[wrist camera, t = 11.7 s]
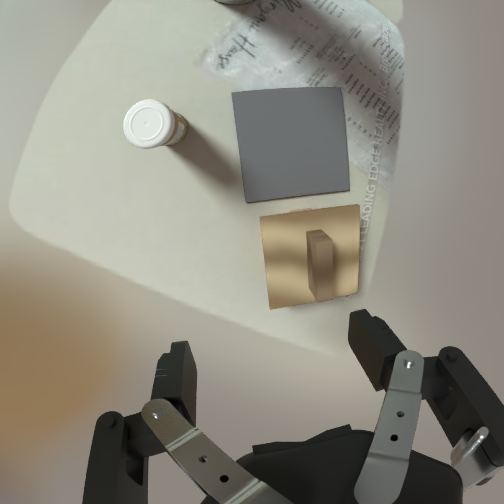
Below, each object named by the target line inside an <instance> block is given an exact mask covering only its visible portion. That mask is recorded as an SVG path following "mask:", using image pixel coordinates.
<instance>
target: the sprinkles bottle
mask: <svg viewBox="0 0 504 504" xmlns="http://www.w3.org/2000/svg"><path fill="white" fill-rule="evenodd" d="M123 128H124V134H125V136H126V138H127V139H128V141H129V142H130V143H131V144H133V145H134V146H136V147H139V148H144V149H148V148H155V147H158V146H164V145H173V144H176V143H178V142H180V141H181V140H182V139H183V138H184V136H185V134H186V131H187V123H186V120H185V119H184V117H183V116H182V115H180V114H179V113H176V112H175V111H173V110H171V109H170V108H169V107H168V106H167V105H165V104H164V103H162V102H160V101H157V100H153V99H147V100H143V101H140V102H138V103H136V104H135V105H133V106H132V107H131V108H130V109H129V111H128V112H127V114H126V116H125V119H124V124H123Z"/></svg>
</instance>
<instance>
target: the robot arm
mask: <svg viewBox="0 0 504 504" xmlns="http://www.w3.org/2000/svg"><path fill="white" fill-rule="evenodd" d="M216 1H218V2H221V3H225V4H245V3H249V2H252V1H254V0H216ZM348 341H349V345H350V347H351V349H352V350H353V352H354V354H355V356H356V357H357V359H358V361H359V363H360V364H361V366H362V368H363V369H364V371H365V373H366V375H367V376H368V378H369V380H370V382H371V383H372V385H373V387H374V388H375V390H376V391H380V390H383V389H384V390H385V392H386V394H385V398H384V401H383V405H382V408H381V411H380V415H379V418H378V421H377V424H376V427H375V430H374V432H371V431H366V430H352V429H351V427H350V424H348V425H345V426H341V427H337V428H334V429H330V430H327V431H325V432H323V433H321V434H319V435H317V436H315V437H313V438H311V439H308V440H306V441H303V442H272V443H266V444H260V445H254V446H252V448H253V452H251V453H249V454H247V455H245V456H243V457H241V458H239V459H238V460H237V461H234V460H233V459H232V458H230V457H229V456H228V455H227V454H226V453H225V452H224V451H222V450H221V449H220V448H219V447H218V446H217V445H216V444H215V443H214V442H213V441H211V440H210V439H209V438H208V437H207V436H206V435H205V434H204V433H203V432H202V431H201V430H199V429H195V427H196V390H197V369H196V364H195V361H194V358H193V355H192V352H191V349H190V346H189V343H188V341H179V342H173V343H172V344H171V350H170V353H164V354H163V355H162V356H161V357H160V359H159V360H158V363H157V368H156V369H157V371H156V374H155V379H154V384H153V389H152V395H151V400H150V401H149V402H147V403H146V404H145V405H144V406H143V408H142V411H141V412H139V413H136V414H133V415H130V416H126V417H123V416H122V415H121V414H120V413H118V412H115V411H110V412H106V413H104V414H102V415H101V416H100V417H99V418H98V420H97V422H96V426H95V431H94V435H93V440H92V445H91V451H90V456H89V461H88V468H87V473H86V480H85V487H84V494H83V502H82V504H148V460H149V456H153V455H156V454H159V453H163V452H167V453H168V454H169V455H170V457H171V458H172V459H173V460H174V461H175V462H176V464H177V465H178V466H179V467H180V468H181V469H182V470H183V471H184V472H185V473H186V474H187V476H188V477H189V478H190V479H191V480H192V481H193V482H194V483H195V484H196V486H197V487H198V488H199V489H200V490H201V491H202V492H203V493H204V494H205V495H206V498H205V499H204V500H203V501H202V503H201V504H463V503H462V499H463V498H462V497H463V492H465V491H466V490H468V489H470V488H471V487H473V486H474V485H483V484H485V483H487V482H488V481H489V480H490V479H491V478H493V477H494V476H495V475H496V474H497V473H498V472H499V471H501V470H502V469H503V468H504V405H503V404H502V403H501V401H500V400H499V398H498V397H497V395H496V394H495V393H494V391H493V390H492V389H491V387H490V386H489V385H488V383H487V382H486V381H485V379H484V378H483V377H482V376H481V375H480V373H479V372H478V370H477V369H476V368H475V367H474V365H473V364H472V363H471V362H470V361H469V359H468V358H467V357H466V356H465V354H464V353H463V352H462V351H461V350H460V349H458V348H456V347H452V346H448V347H444V348H442V349H441V350H440V352H439V355H438V356H434V357H422V356H421V354H419V353H418V352H416V351H412V350H407V349H406V347H405V346H404V345H403V344H402V342H401V341H400V340H399V339H398V337H397V336H396V335H395V334H394V333H393V331H392V330H391V329H390V328H389V326H388V325H387V324H386V322H385V321H384V320H382V319H380V318H379V317H377V316H374V317H372V316H371V315H370V314H369V312H368V311H367V310H366V309H362V310H358V311H354V312H351V313H350V319H349V331H348ZM424 399H426V401H427V402H428V404H429V406H430V407H431V409H432V411H433V413H434V414H435V416H436V418H437V420H438V421H439V423H440V425H441V426H442V428H443V430H444V432H445V434H446V436H447V438H448V439H449V441H450V443H451V445H452V447H453V449H452V451H451V457H450V458H451V465H452V466H450V465H448V464H446V463H443V462H441V461H438V460H435V459H433V458H430V457H428V456H426V455H423V454H421V453H418V452H416V451H414V450H412V449H411V448H412V444H413V440H414V435H415V431H416V426H417V421H418V416H419V410H420V404H421V400H424Z"/></svg>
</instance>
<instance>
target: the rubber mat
mask: <svg viewBox="0 0 504 504" xmlns="http://www.w3.org/2000/svg"><path fill="white" fill-rule="evenodd" d="M232 100H233V108H234V115H235V123H236V131H237V138H238V146H239V153H240V161H241V169H242V176H243V184H244V192H245V199H246V203H248V202H255V201H262V200H269V199H277V198H285V197H292V196H301V195H309V194H318V193H326V192H336V191H345V190H349V172H348V156H347V142H346V131H345V120H344V111H343V102H342V94H341V88H336V87H306V88H280V89H264V90H253V91H243V92H234V93H232Z"/></svg>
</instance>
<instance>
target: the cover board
mask: <svg viewBox="0 0 504 504" xmlns="http://www.w3.org/2000/svg"><path fill="white" fill-rule="evenodd" d="M260 225H261V234H262V243H263V252H264V260H265V269H266V279H267V288H268V297H269V306H270V310H271V309H277V308H283V307H288V306H294V305H299V304H304V303H310V302H315V301H317V302H322V301H327V300H332V298H335V297H339V296H344V295H349V294H353V293H357V289H358V271H359V239H360V205H358V204H355V205H346V206H338V207H330V208H321V209H313V210H306V211H298V212H290V213H283V214H276V215H269V216H262V217H260Z"/></svg>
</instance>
